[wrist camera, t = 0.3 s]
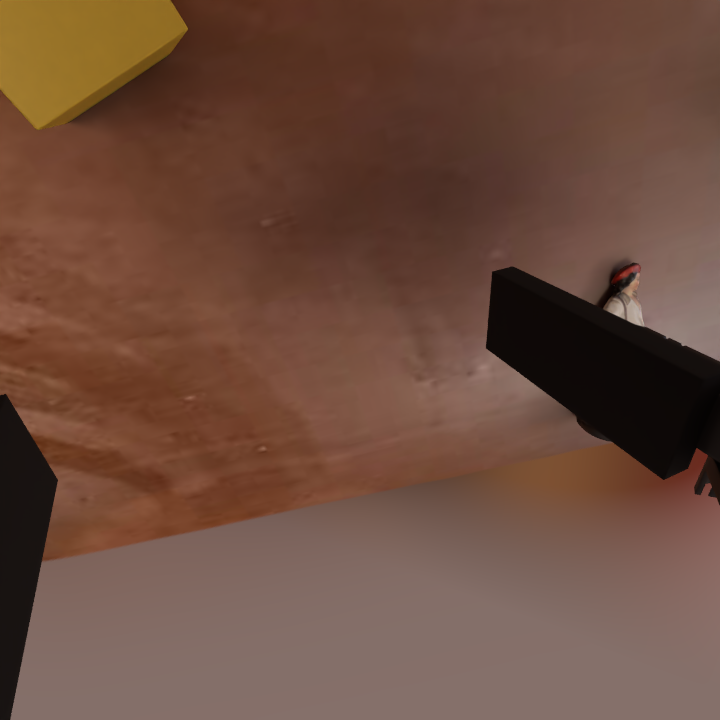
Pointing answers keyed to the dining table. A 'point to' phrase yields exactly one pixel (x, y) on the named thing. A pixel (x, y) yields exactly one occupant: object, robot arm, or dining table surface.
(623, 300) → the figurine
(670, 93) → the dining table surface
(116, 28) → the sponge
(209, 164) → the dining table surface
